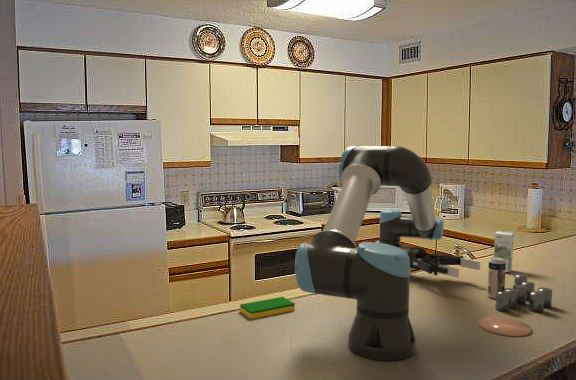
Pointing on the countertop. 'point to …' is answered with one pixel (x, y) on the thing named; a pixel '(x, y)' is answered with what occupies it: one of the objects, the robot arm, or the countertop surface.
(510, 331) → the peach disc
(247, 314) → the dish sponge
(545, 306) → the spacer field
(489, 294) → the beer can
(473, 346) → the countertop surface
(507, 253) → the syrup box
